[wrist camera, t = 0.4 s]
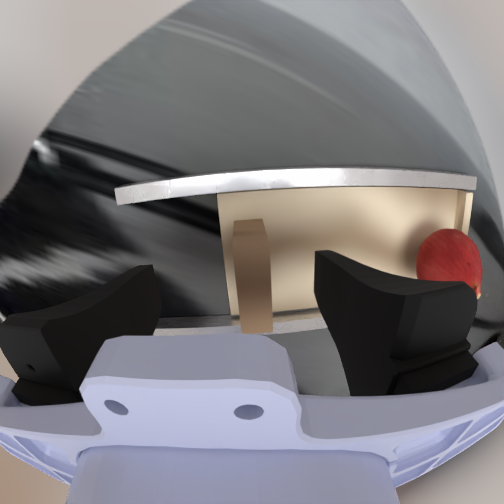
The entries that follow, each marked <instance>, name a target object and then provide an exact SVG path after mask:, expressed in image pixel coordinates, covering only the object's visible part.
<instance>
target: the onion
mask: <svg viewBox="0 0 504 504" xmlns="http://www.w3.org/2000/svg"><path fill="white" fill-rule="evenodd" d="M416 274H417V278H418V279H421V280H432V281H464V282H465V283H466V284H468V285H469V286H470V287H471V288H473V290H474V291H475V292H476V295H477V299H478V298H479V297H480V296H481V291H480V287H481V280H482V264H481V259H480V254H479V251H478V248H477V246H476V244H475V243H474V242H473V240H472V239H470V238H469V237H468V236H467V235H465V234H464V233H463V232H462V231H459V230H456V229H449V228H446V229H440V230H438V231H435V232H433V233H432V234H431V235H430V236H428V237H427V238H426V239H425V240H424V241H423V242H422V244H421V246H420V248H419V252H418V255H417V259H416Z"/></svg>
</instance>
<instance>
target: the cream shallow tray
mask: <svg viewBox="0 0 504 504" xmlns="http://www.w3.org/2000/svg"><path fill="white" fill-rule="evenodd" d="M472 199H473V193H471V192H468V191H466V190H463V189H454V188H437V187H413V186H320V187H294V188H275V189H259V190H245V191H233V192H222V193H217V200H218V210H219V219H220V229H221V238H222V247H223V255H224V264H225V272H226V280H227V288H228V296H229V304H230V311H231V315H240V324H241V333H244V334H256V333H268V332H273V316H272V312H277V311H287V310H297V309H306V308H315V307H318V305H317V302H316V298H315V295H314V262H315V251H319V250H331V251H334V252H337V253H339V254H341V255H344V256H346V257H348V258H350V259H353V260H355V261H357V262H359V263H362V264H364V265H367V266H369V267H372V268H375V269H378V270H381V271H384V272H387V273H391V274H394V275H399V276H403V277H409V278H414V279H418V278H417V274H416V259H417V255H418V252H419V248H420V246H421V244H422V242H423V241H424V240H425V239H426V238H427V237H428V236H430V235H431V234H432V233H433V232H435V231H438V230H440V229H446V228H449V229H456V230H459V231H462V232H463V233H464V234H465V235H467V234H468V228H469V222H470V215H471V207H472Z"/></svg>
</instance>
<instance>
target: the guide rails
mask: <svg viewBox="0 0 504 504" xmlns="http://www.w3.org/2000/svg"><path fill="white" fill-rule="evenodd" d="M476 181H477V177H475V176H472V175H468V174H463V173H455V172H446V171H436V170H424V169H411V168H395V167H370V166H301V167H276V168H258V169H244V170H232V171H220V172H210V173H201V174H192V175H184V176H176V177H169V178H162V179H155V180H148V181H142V182H136V183H130V184H124V185H121V186H119V187H117V188H115V195H116V200H117V205H122V204H129V203H135V202H142V201H149V200H157V199H165V198H173V197H181V196H190V195H199V194H209V193H219V192H231V191H243V190H256V189H272V188H290V187H314V186H418V187H440V188H456V189H470V190H476ZM272 316H273V332H268V333H256V334H252V335H268V334H279V333H289V332H298V331H306V330H314V329H322V328H328V327H327V325H326V323H325V321H324V319H323V317H322V315H321V312H320V310H319V308H318V307H315V308H306V309H297V310H287V311H277V312H272ZM224 333H241V324H240V315H216V316H197V317H170V318H159V320H158V323H157V326H156V329H155V331H154V334H153V336H176V335H205V334H224Z"/></svg>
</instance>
